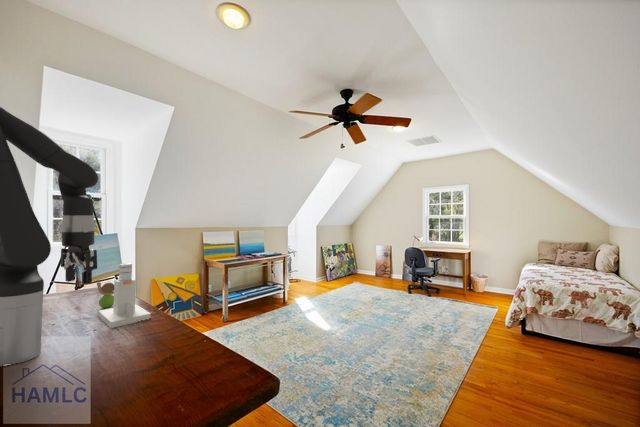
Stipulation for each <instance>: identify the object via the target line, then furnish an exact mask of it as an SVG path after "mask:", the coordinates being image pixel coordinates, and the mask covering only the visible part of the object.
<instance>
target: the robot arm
mask: <svg viewBox="0 0 640 427" xmlns="http://www.w3.org/2000/svg"><path fill="white" fill-rule="evenodd" d="M8 142H9V143H10V144H12V145H13V146H14V147H16V148H17V149H19V150H20V151H21V152H23V154H25V155H27V156H28V157H29V158H30V159H32V160H33V161H35V162H36V163H38V164H39V165H40V166H42V167H44V168H47V169H51V170H54V171H56V172H58V176H57V177H58V178H57V183H58V187H59V192H60V196H61V199H62V201H63V202H62V220H61V245H62V246H61V247H62V248H61V249H60V267H61V268H63V269H64V270H65V282H67V283H69V282H74V281H76V267H79V268H80V270H81V271H82V272H81V284H82V285H88V284H89V285H90V284H92V282H93V271H94V270H97V269H98V251H97V249H95V248H94V249H90V246H93V245H95V218H94V201H93V198H91V197H89V196H88V194H87V190H86V189H90V188H92V187H94V186H96V185H97V183H98V182H99V175H98V173H97V171H96V170H95V169H94V168H93V167H92V165H90V164H88V163H87V162H85V161H84V160H82V159H80V158H79V157H77V156H75V155H74V154H72V153H70V152H68V151H67V150H65V149H64V148H63V147H62V146H60V144H59V143H57V142H55V140H53V139H52V138H51V137H50V136H48V135H47V134H46V133H45V132H43V131H42V130H40V129H39V128H37V127H36V126H33V124H30V123H29V122H27V121H25V120H24V119H22V118H20V117H18V116H16V115H14V114H13V113H11V112H9V111H8V110H6V109H5V108H3V107H2V106H0V366H2V365H5V364H14V365H16V364H15V363H18V364H21V362H22V363H25V362H28V361H29V360H32V359H34V358H36V357H38V356H39V355H40V354H41V353H42V352H41V350H42V332H43V329H42V328H43V309H44V308H43V307H44V306H43V304H44V286H45V282H44V279H43V278H42V277H41V275H40V273H39V270H38V266H39V265H41V264H43V263H44V262H45V261H47V259H48V258H49V256H50V254H51V251H52V248H51V247H52V246H51V242H50V240H49V237H48V236H47V234H46V232H45V230H44V229H43V227H42V226H41V223H40V222H39V220H38V218H37V216H36V213H35V212H34V210H33V207H32V204H31V201H30V198H29V195H28V193H27V190H26V187H25V185H24V182H23V180H22V176H21V173H20V171H19V167H18V165H17V163H16V161H15V158H14V155H13V154H12V151H11V148H10V147H9V143H8Z"/></svg>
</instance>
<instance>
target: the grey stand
mask: <svg viewBox="0 0 640 427" xmlns="http://www.w3.org/2000/svg"><path fill="white" fill-rule="evenodd" d="M113 284H114V291H113V292H114V293H113V296H114V305H113V307H109V308H103V309H100V310H97V317H98V318H99V319H101V320H102V321H103V322H104V323H105V324H106V325H107V326H108V327H109V328H110V329H114V328H117V327H121V326H125V325H130V324H134V323H139V322H142V321H141V320H143V321H146V320H145V319H147V320H150V319H149V318H151V317H152V316H151V314H152V313H151V312H149V311H148V310H146V309H144V308H142V307H141V306H140V305H138V304H136V287H137V279H135V278H133V277H132V280H128V281H119V278H117V279H114V283H113ZM138 321H139V322H138Z"/></svg>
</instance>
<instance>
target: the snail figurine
mask: <svg viewBox="0 0 640 427" xmlns="http://www.w3.org/2000/svg"><path fill="white" fill-rule="evenodd" d="M99 280H100V279H96V282H97V283H96V287H97V290H98V292H99V294H101V295H102V296H100V298H99V300H98V305H99V306H100V308H103V309H109V308H112V307H114V283H113V282H106V283H104V284H103V285H102V282H101V281H99Z"/></svg>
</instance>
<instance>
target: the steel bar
mask: <svg viewBox="0 0 640 427" xmlns="http://www.w3.org/2000/svg"><path fill="white" fill-rule="evenodd" d="M132 278H133V263H131V262H126V263H119V270H118V279H119V281H128V280H132Z"/></svg>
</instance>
